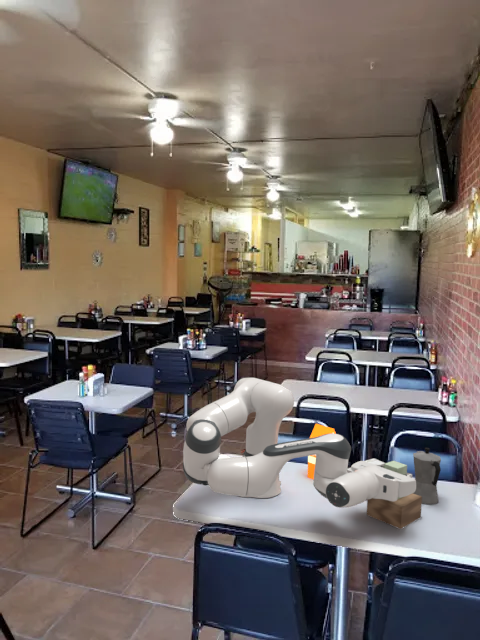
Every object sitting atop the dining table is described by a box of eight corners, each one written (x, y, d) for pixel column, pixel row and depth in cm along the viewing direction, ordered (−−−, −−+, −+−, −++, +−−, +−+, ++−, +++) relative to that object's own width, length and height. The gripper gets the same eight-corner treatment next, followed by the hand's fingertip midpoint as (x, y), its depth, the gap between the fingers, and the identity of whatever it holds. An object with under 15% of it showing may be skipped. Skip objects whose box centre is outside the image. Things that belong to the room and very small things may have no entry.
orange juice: (320, 472, 196) (321, 421, 195) (338, 479, 190) (340, 427, 188) (307, 477, 191) (308, 425, 189) (325, 484, 184) (327, 430, 183)
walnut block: (366, 515, 161) (367, 494, 161) (387, 504, 169) (388, 484, 169) (400, 530, 153) (401, 507, 152) (420, 518, 161) (421, 496, 160)
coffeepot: (403, 491, 180) (405, 441, 179) (428, 490, 181) (431, 441, 180) (423, 511, 165) (426, 457, 163) (450, 510, 166) (453, 456, 164)
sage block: (382, 494, 161) (384, 463, 160) (392, 490, 164) (393, 460, 163) (396, 500, 157) (397, 468, 156) (405, 496, 160) (407, 465, 159)
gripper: (342, 480, 160) (369, 470, 168) (399, 503, 144) (425, 491, 153) (343, 461, 159) (369, 452, 168) (400, 482, 143) (426, 471, 152)
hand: (396, 471), depth 160 cm, fingers open, 8 cm apart
